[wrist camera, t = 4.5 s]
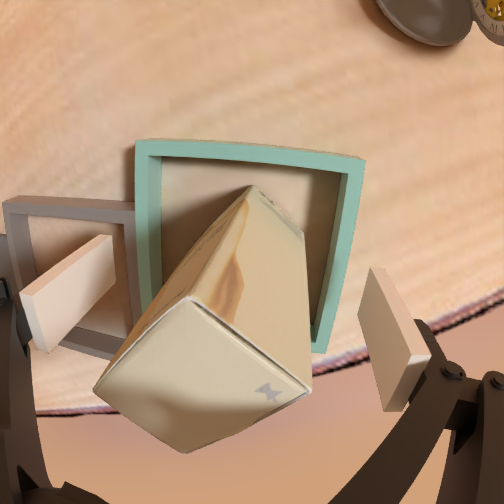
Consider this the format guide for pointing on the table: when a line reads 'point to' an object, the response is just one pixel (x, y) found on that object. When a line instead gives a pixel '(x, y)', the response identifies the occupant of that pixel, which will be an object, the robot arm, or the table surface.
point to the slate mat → (7, 263)
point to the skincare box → (220, 333)
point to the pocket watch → (445, 19)
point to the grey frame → (82, 210)
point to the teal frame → (154, 149)
